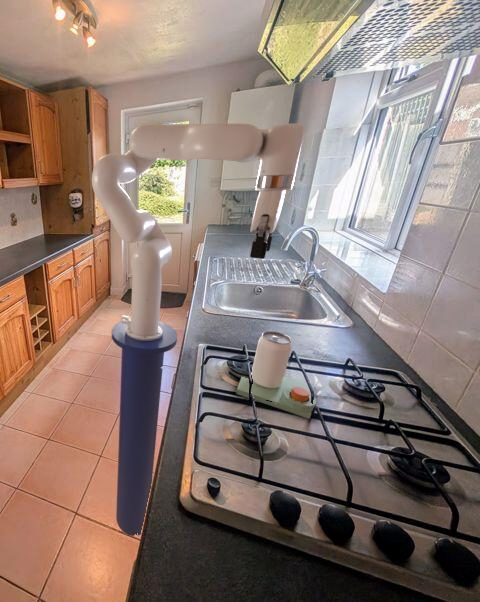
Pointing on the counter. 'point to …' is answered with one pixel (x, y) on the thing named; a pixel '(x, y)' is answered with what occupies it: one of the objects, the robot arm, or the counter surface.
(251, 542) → the counter surface
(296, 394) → the tare button
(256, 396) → the scale
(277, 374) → the can
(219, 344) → the counter surface
